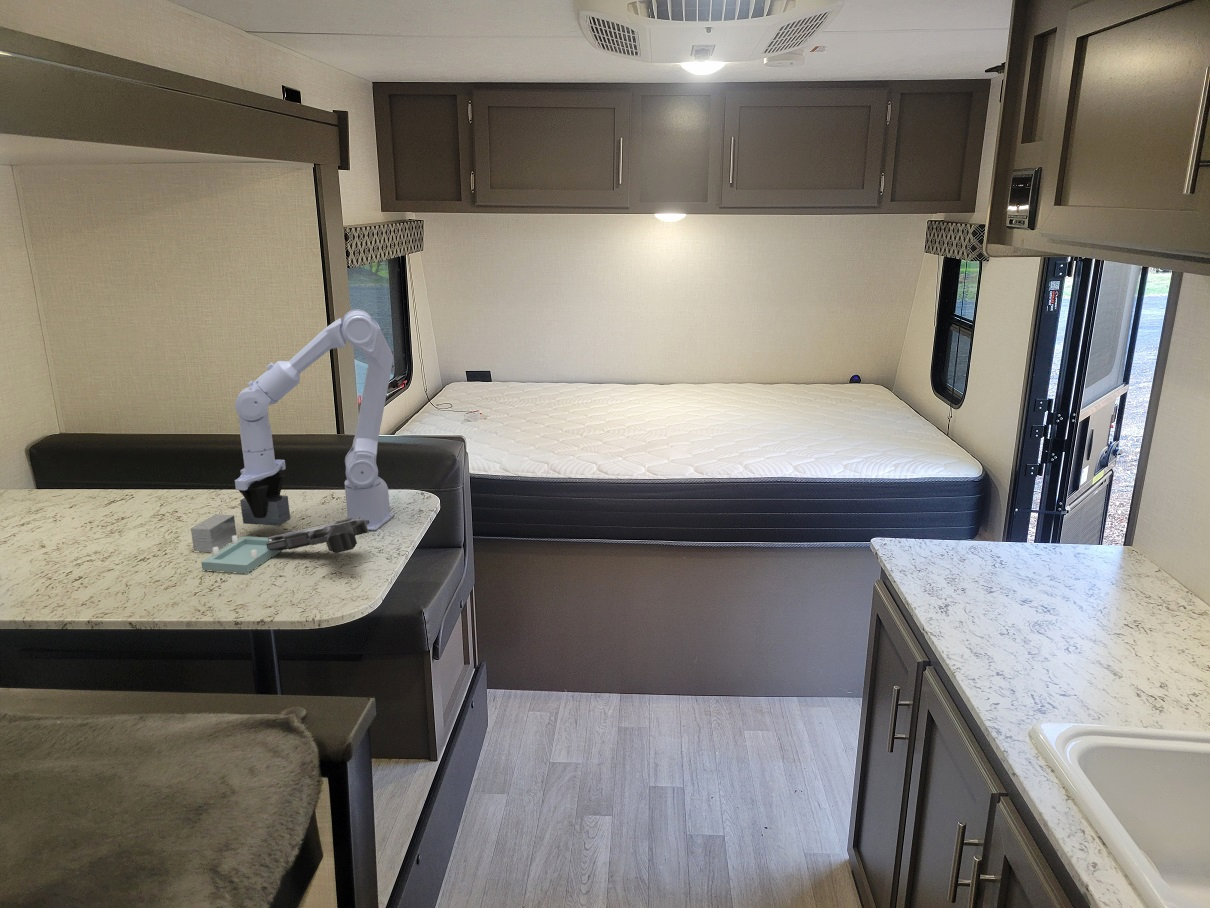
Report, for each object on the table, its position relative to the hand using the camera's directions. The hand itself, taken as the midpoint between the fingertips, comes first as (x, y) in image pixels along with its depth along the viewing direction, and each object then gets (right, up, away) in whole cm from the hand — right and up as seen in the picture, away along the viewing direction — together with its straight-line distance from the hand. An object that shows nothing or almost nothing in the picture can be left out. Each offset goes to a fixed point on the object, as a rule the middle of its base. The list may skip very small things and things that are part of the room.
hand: (266, 513), depth 170 cm
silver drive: (-8, -6, -4) cm, 11 cm away
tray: (+1, -8, -11) cm, 14 cm away
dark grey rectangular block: (0, -2, 0) cm, 2 cm away
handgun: (+15, -6, -15) cm, 22 cm away
